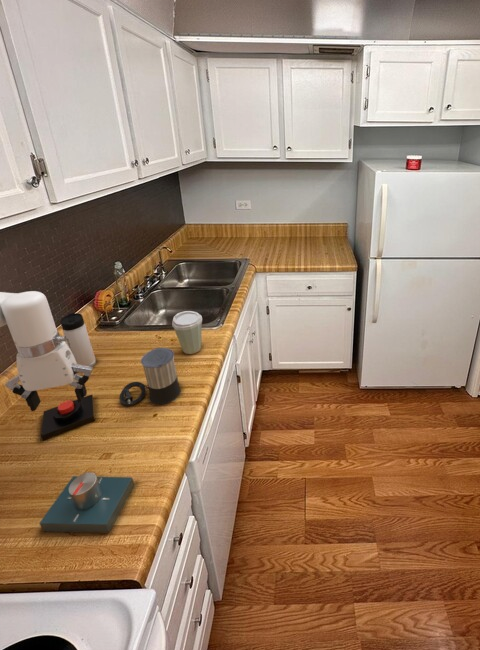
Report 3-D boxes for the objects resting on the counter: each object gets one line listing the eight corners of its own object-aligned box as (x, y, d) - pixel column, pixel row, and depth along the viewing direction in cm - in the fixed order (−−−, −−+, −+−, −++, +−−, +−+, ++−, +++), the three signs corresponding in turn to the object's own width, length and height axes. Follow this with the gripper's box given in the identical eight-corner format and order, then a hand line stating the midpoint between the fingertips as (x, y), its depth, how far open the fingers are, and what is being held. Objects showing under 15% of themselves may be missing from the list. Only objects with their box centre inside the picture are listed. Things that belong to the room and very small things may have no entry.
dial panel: (43, 532, 69) (38, 522, 68) (76, 484, 79) (72, 475, 77) (109, 533, 69) (106, 524, 68) (134, 485, 78) (132, 476, 77)
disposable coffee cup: (209, 341, 132) (205, 308, 126) (202, 359, 122) (197, 324, 116) (183, 342, 132) (177, 309, 126) (173, 359, 122) (166, 324, 116)
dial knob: (85, 486, 75) (79, 470, 73) (106, 487, 75) (101, 471, 73) (69, 510, 71) (62, 493, 69) (91, 511, 70) (85, 494, 68)
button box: (43, 441, 89) (38, 430, 88) (45, 416, 97) (41, 406, 96) (95, 421, 96) (92, 411, 94) (94, 399, 103) (90, 389, 102)
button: (59, 416, 93) (57, 412, 92) (59, 408, 96) (57, 403, 95) (74, 411, 95) (72, 406, 94) (74, 403, 97) (73, 398, 97)
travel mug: (96, 357, 123) (82, 310, 115) (96, 367, 118) (82, 318, 110) (75, 363, 119) (60, 315, 112) (75, 373, 114) (58, 324, 107)
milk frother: (186, 394, 106) (179, 356, 100) (134, 424, 95) (123, 383, 89) (166, 373, 115) (158, 337, 109) (116, 399, 104) (105, 360, 98)
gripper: (88, 329, 81) (103, 384, 87) (1, 341, 76) (24, 399, 82) (77, 347, 74) (95, 405, 81) (-18, 361, 70) (9, 422, 76)
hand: (59, 402), depth 82 cm, fingers open, 9 cm apart
